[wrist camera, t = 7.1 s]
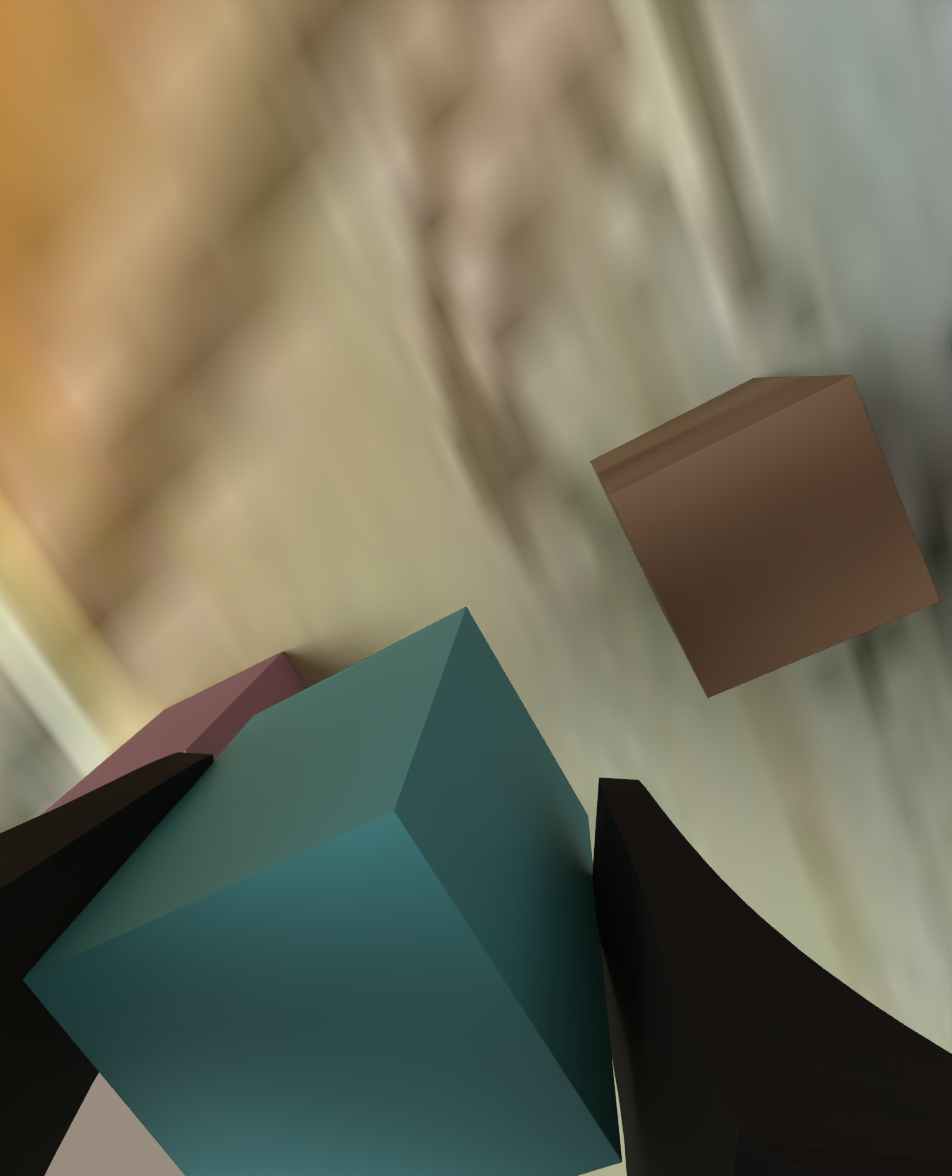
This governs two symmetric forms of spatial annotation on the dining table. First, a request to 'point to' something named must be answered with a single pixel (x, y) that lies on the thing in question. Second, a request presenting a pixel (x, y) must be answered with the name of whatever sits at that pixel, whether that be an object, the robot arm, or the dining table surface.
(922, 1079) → the robot arm
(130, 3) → the dining table surface
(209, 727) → the plum block
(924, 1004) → the dining table surface
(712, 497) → the walnut block
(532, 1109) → the teal block
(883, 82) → the dining table surface
